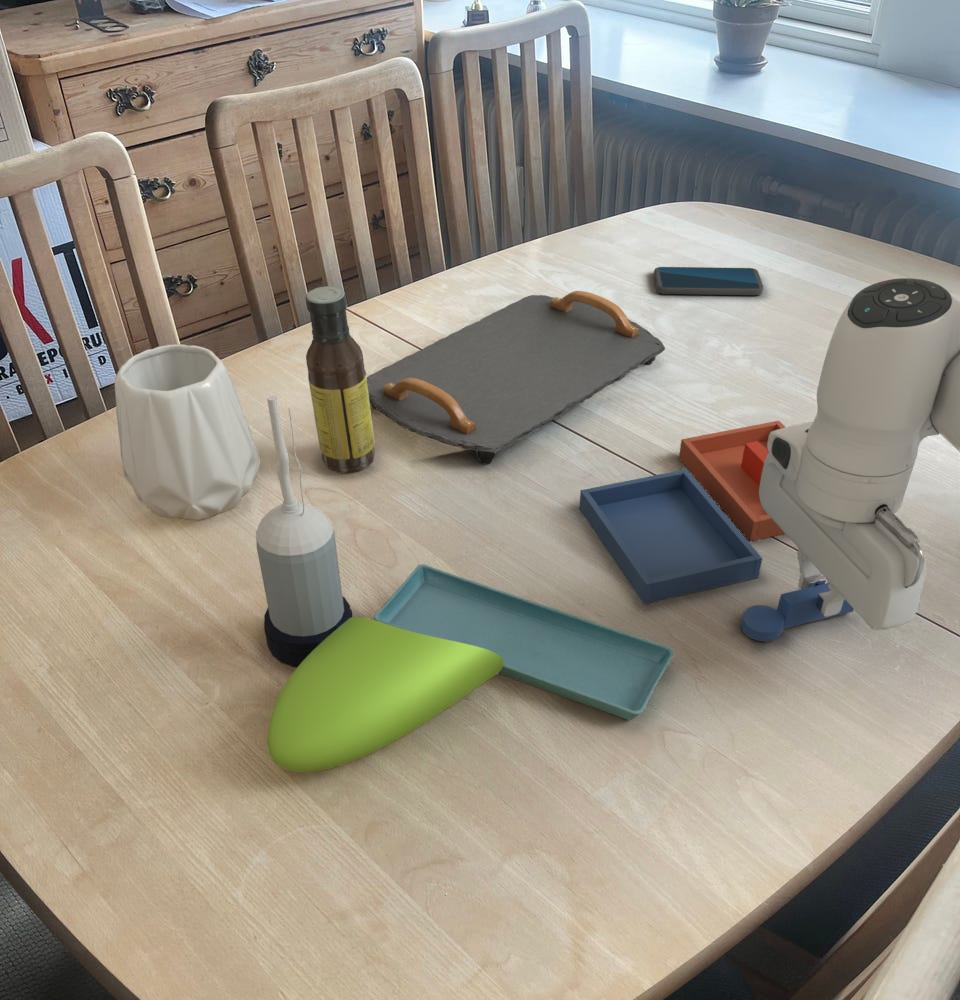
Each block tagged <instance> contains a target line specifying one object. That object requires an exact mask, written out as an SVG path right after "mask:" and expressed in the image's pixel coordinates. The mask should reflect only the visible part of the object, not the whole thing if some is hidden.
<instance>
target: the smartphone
mask: <svg viewBox="0 0 960 1000" xmlns="http://www.w3.org/2000/svg"><path fill="white" fill-rule="evenodd" d="M653 276H654V282H655V288H656V292H657V293H659V294H661V295H707V296H708V295H710V296H760V295H762V294H763V292H764V291H763V290H764V284H763V282H762V279H761V276H760V272H759V270H758V269H756V268H753V267H709V266H708V267H705V266H704V267H702V266H700V267H699V266H698V267H697V266H658V267H655V268H654V270H653Z"/></svg>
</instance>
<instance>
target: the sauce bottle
mask: <svg viewBox="0 0 960 1000" xmlns="http://www.w3.org/2000/svg"><path fill="white" fill-rule="evenodd" d="M346 296H347V295H346V293H345V291H344V289H342V288H341V287H337V286H333V285H331V286H330V285H326V286H325V285H324V286H319V287H315V288H314V289H312V290H309V291H308V292H307V293H306V295H305V305H306V310H307V311H308V313H309V317H310V322H311V323H310V324H311V334H312V340H311V342H310V345H309V347H308V348H307V351H306V354H305V355H306V356H305V361H306V367H307V377H308V378H307V379H308V380H307V381H308V386H309V389H310V390H309V391H310V397H311V398H310V399H311V402H312V407H313V408H312V409H313V415H314V422H315V427H316V433H317V440H318V445H319V450H320V453H321V459H322V463H323V464H324V465H325V466H326V468H328V469H330V470H331V471H332V472H334V473H337V474H338V473H339V474H353V473H357V472H360V471H362V470H364V469H366V468H368V467H369V466H371V464H372V463H373V462H374V458H375V456H376V451H375V447H374V446H375V435H374V434H375V433H374V426H373V419H372V409H371V404H370V402H369V394H368V385H367V377H368V376H367V372H366V371H367V370H366V369H365V361H364V354H363V351H362V349H361V346H360V345H359V344H358V343H357V341H356V340H355V339H354V338H353V336H352V335H351V334H350V327H349V324H348V317H347V305H348V303H347V297H346Z"/></svg>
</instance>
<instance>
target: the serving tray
mask: <svg viewBox="0 0 960 1000" xmlns="http://www.w3.org/2000/svg"><path fill="white" fill-rule="evenodd" d="M665 350H666V347H665V345H664V344H663V342H662V341H661V340H660V339H659V337H656V336H654V335H653V334H652V333H651V332H650V331H648V329H646V328H645V327H642V326H641V325H640V324H638V323H637V322H635V321H632V320H630V319H629V318H628V316H627V315H626V313H625V312H624V310H622V308H621V307H620V306H619V305H618V304H616V303H614V302H613V301H611V300H610V299H607V298H605V297H604V296H601V295H598V294H595V293H592V292H589V291H585V290H574V291H572V292H569V293H568V294H566V295H564V296H563V297H562V298H561V297H557V296H555V297H553V296H549V295H545V294H543V295H542V294H531V295H528V296H525V297H522V298H520V299H519V300H517V301H515V302H512V303H510V304H508V305H506V306H505V307H503V308H500V309H499V310H497V311H494V312H492V313H491V314H489V315H487V316H485V317H482V318H481V319H480V320H478V321H475V322H473V323H471V324H469V325H466V326H464V327H463V328H461V329H459V330H457V331H455V332H452V333H450V334H449V335H447V336H445V337H442V338H440V339H438V340H437V341H435V342H433V343H431V344H429V345H427V346H425V347H424V348H422V349H419V350H417V351H415V352H414V353H412V354H410V355H407V356H405V357H403V358H401V359H399V360H397V361H395V362H394V363H392V364H390V365H387V366H386V367H383V368H382V369H380V370H378V371H376V372H374V373H371V374H369V375H368V376H366V377H367V385H368V394H369V402H370V406H371V408H373V409H375V410H377V411H378V412H379V413H380V414H383V415H384V416H386V417H387V418H388V419H390V420H391V421H393V422H394V423H395V424H396V425H398V426H400V427H402V428H404V429H406V430H408V431H409V432H412V433H416V434H418V435H420V436H421V437H422V436H423V437H426V438H429V439H431V440H435V441H437V442H439V443H443V444H444V445H445V444H446V445H449V446H453V447H460V448H462V449H464V450H472V451H476V457H477V459H478V460H479V462H480V463H481V464H483V465H489V464H491V463H493V460H494V459H495V458H496V453H498V452H501V451H504V450H506V449H507V448H508V447H510V446H512V445H514V443H517V442H518V441H519V440H521V439H523V438H525V437H526V436H528V435H529V434H531V433H534V432H535V431H537V430H538V429H539V428H541V427H543V426H545V425H547V424H548V423H549V424H550V423H551V422H553V421H554V420H555V419H557V418H558V417H559V416H560V415H562V414H564V413H565V412H566V411H567V410H569V409H571V408H573V407H576V406H577V405H580V404H582V403H583V402H585V401H586V400H589V399H590V398H592V397H593V396H594V395H596V394H597V393H598V392H601V391H602V390H603V389H605V388H607V387H608V386H610V385H613V384H614V383H615V382H618V381H621V380H622V379H624V378H625V377H626V375H627V374H629V373H630V372H631V371H633V370H636V369H638V368H639V367H640V366H642V365H644V366H650V365H652V364H653V362H654V361H655V360H656V357H657V356H659V355H661V354H662V353H663V352H664V351H665Z"/></svg>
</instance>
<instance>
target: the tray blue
mask: <svg viewBox="0 0 960 1000" xmlns="http://www.w3.org/2000/svg"><path fill="white" fill-rule="evenodd" d="M579 492H580V493H579V507H578V509H579V511H580V513H581V514H582V516H583V518H585V521H586V522H587V523H588V525H589V526H590V527H591V529H592V530H593V532H594V533H595V535H596V536H597V538H598V540H599V541H600V543H602V545H603V546H604V548H605V549H606V551H607V552H608V554H609V555H610V557H611V558H612V560H613V561H614V563H615V564H616V565H617V567H618V569H619V570H620V572H621V573H622V574H623V576H624V577H625V579H626V580H627V582H628V584H630V586H631V587H632V589H633V590H634V592H635V593H636V595H637V597H638V598H639V599H640V601H641V602H642V603H643V605H647V604H651V603H655V602H660V601H665V600H669V599H673V598H676V597H681V596H686V595H691V594H694V593H698V592H703V591H708V590H712V589H714V588H716V589H717V588H720V587H725V586H729V585H733V584H738V583H742V582H747V581H750V580H754V579H758V578H759V576H760V572H761V567H762V563H763V556H761V555H760V553H759V552H758V551H757V550H756V549H755V548H754V546H753V545H752V544H751V543H750V541H749V540H748V538H747V537H746V536H745V535H744V534H743V533H742V531H741V530H740V529H739V528H738V527H737V526H736V524H735V523H734V522H733V521H732V520H731V518H730V517H729V516H728V515H727V514H726V513H725V511H724V510H723V509H722V508H721V507H720V506H719V504H718V503H717V502H716V501H715V500H714V499H713V497H712V496H711V495H710V494H709V493H708V492H707V490H706V489H705V488H704V487H703V486H702V485H701V483H700V482H699V481H698V480H697V479H696V477H695V476H694V475H693V474H692V473H691V472H690V470H689V469H688V468H684V469H679V470H675V471H670V472H669V471H668V472H664V473H659V474H655V475H649V476H645V477H639V478H635V479H629V480H625V481H620V482H615V483H610V484H604V485H600V486H595V487H590V488H585V489H580V491H579Z"/></svg>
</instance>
